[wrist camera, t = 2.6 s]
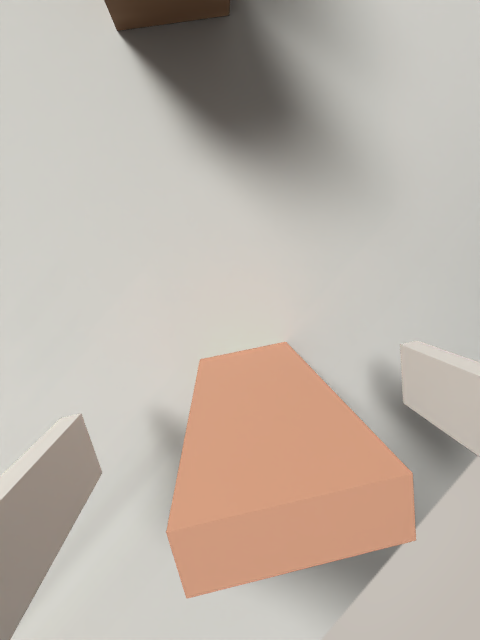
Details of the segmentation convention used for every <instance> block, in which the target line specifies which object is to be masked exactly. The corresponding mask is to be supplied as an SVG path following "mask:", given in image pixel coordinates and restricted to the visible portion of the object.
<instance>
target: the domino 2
mask: <svg viewBox="0 0 480 640" xmlns="http://www.w3.org/2000/svg"><path fill="white" fill-rule="evenodd" d="M166 533H167V536H168V540H169V543H170V546H171V549H172V553H173V556H174V559H175V563H176V566H177V569H178V572H179V576H180V579H181V582H182V585H183V589H184V592H185V595H186V598H191V597H195V596H199V595H203V594H207V593H211V592H215V591H218V590H222V589H226V588H230V587H234V586H238V585H242V584H246V583H250V582H254V581H258V580H262V579H266V578H270V577H274V576H278V575H282V574H286V573H289V572H293V571H297V570H301V569H305V568H309V567H313V566H317V565H321V564H325V563H329V562H333V561H337V560H341V559H345V558H349V557H353V556H357V555H360V554H364V553H368V552H372V551H376V550H380V549H384V548H388V547H392V546H396V545H400V544H404V543H408V542H411V541H415V540H416V530H415V511H414V491H413V473H412V472H411V471H410V470H409V469H408V468H407V467H406V466H405V465H404V464H403V463H402V462H401V461H400V460H399V459H398V458H397V456H396V455H395V454H394V453H393V452H392V451H391V450H390V449H389V448H388V447H387V446H386V445H385V444H384V443H383V442H382V441H381V440H380V439H379V438H378V437H377V436H376V435H375V434H374V433H373V432H372V431H371V430H370V429H369V427H368V426H367V425H366V424H365V423H364V422H363V421H362V420H361V419H360V418H359V417H358V416H357V415H356V414H355V413H354V412H353V411H352V410H351V409H350V408H349V407H348V406H347V405H346V404H345V403H344V402H343V401H342V399H341V398H340V397H339V396H338V395H337V394H336V393H335V392H334V391H333V390H332V389H331V388H330V387H329V386H328V385H327V384H326V383H325V382H324V381H323V380H322V379H321V378H320V377H319V376H318V375H317V374H316V373H315V371H314V370H313V369H312V368H311V367H310V366H309V365H308V364H307V363H306V362H305V361H304V360H303V359H302V358H301V357H300V356H299V355H298V354H297V353H296V352H295V351H294V350H293V349H292V348H291V347H290V346H289V345H288V343H287V342H283V343H278V344H273V345H268V346H263V347H258V348H253V349H249V350H244V351H239V352H234V353H229V354H224V355H220V356H215V357H210V358H205V359H200V362H199V367H198V372H197V377H196V382H195V388H194V393H193V398H192V403H191V408H190V413H189V418H188V423H187V428H186V434H185V439H184V444H183V449H182V454H181V459H180V464H179V469H178V474H177V480H176V485H175V490H174V495H173V500H172V505H171V510H170V515H169V520H168V526H167V531H166Z"/></svg>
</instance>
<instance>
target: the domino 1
mask: <svg viewBox="0 0 480 640" xmlns="http://www.w3.org/2000/svg"><path fill="white" fill-rule="evenodd" d="M104 1H105V3H106V5H107V8H108V10H109V13H110V15H111V17H112V20H113V22H114V24H115V27H116V29H117V31H121V30H128V29H135V28H142V27H149V26H156V25H163V24H170V23H178V22H185V21H192V20H199V19H206V18H213V17H220V16H227V15H229V9H230V0H104Z"/></svg>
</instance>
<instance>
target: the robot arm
mask: <svg viewBox="0 0 480 640" xmlns="http://www.w3.org/2000/svg"><path fill="white" fill-rule="evenodd" d="M400 354H401V373H402V392H403V403H404V404H405V405H407V406H408V407H409V408H411V409H412V410H414V411H415V412H417V413H418V414H419V415H421V416H422V417H424V418H425V419H426V420H428V421H429V422H431V423H432V424H434V425H435V426H436V427H438V428H439V429H441V430H442V431H443V432H445V433H446V434H448V435H449V436H451V437H452V438H453V439H455V440H456V441H458V442H459V443H460V444H462V445H463V446H465V447H466V448H468V449H469V450H470V451H472V452H473V453H475V454H476V455H477V456H479V457H480V362H477V361H474V360H472V359H469V358H466V357H463V356H460V355H457V354H454V353H452V352H449V351H446V350H443V349H440V348H437V347H434V346H431V345H429V344H426V343H423V342H420V341H413V342H408V343H403V344H400ZM101 474H102V470H101V468H100V465H99V462H98V459H97V456H96V454H95V451H94V448H93V445H92V442H91V439H90V437H89V434H88V431H87V428H86V425H85V423H84V420H83V417H82V414H76V415H71V416H67V417H62V418H60V419H59V420H58V421H57V422H56V423H55V424H54V425H53V426H52V427H51V428H50V429H49V430H48V431H47V432H46V433H45V434H44V435H43V436H42V437H41V438H39V439H38V440H37V441H36V442H35V443H34V444H33V445H32V446H31V447H30V448H29V449H28V450H27V451H26V452H25V453H24V454H23V455H22V456H21V457H20V458H19V459H18V460H17V461H16V462H15V463H14V464H13V465H12V466H10V467H9V468H8V469H7V470H6V471H5V472H4V473H3V474H2V475H1V476H0V640H10V639H11V637H12V635H13V634H14V632H15V630H16V628H17V626H18V625H19V623H20V621H21V619H22V617H23V615H24V614H25V612H26V610H27V608H28V606H29V605H30V603H31V601H32V599H33V597H34V596H35V594H36V592H37V590H38V588H39V586H40V585H41V583H42V581H43V579H44V577H45V576H46V574H47V572H48V570H49V568H50V567H51V565H52V563H53V561H54V559H55V558H56V556H57V554H58V552H59V550H60V548H61V547H62V545H63V543H64V541H65V539H66V538H67V536H68V534H69V532H70V530H71V529H72V527H73V525H74V523H75V521H76V519H77V518H78V516H79V514H80V512H81V510H82V509H83V507H84V505H85V503H86V501H87V500H88V498H89V496H90V494H91V492H92V491H93V489H94V487H95V485H96V483H97V481H98V480H99V478H100V476H101Z"/></svg>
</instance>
